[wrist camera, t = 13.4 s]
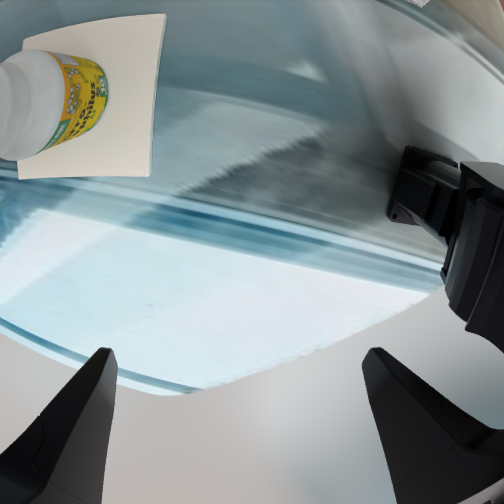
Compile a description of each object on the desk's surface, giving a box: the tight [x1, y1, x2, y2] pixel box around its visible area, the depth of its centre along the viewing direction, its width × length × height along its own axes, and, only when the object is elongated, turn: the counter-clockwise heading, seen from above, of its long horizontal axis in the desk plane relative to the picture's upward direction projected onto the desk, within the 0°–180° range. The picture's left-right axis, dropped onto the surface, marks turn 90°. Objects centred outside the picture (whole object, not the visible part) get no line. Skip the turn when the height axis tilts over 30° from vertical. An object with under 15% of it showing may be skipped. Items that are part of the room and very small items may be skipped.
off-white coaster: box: [17, 14, 167, 180], centre depth 14 cm, size 11×11×1 cm
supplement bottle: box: [0, 49, 110, 161], centre depth 10 cm, size 5×5×10 cm
